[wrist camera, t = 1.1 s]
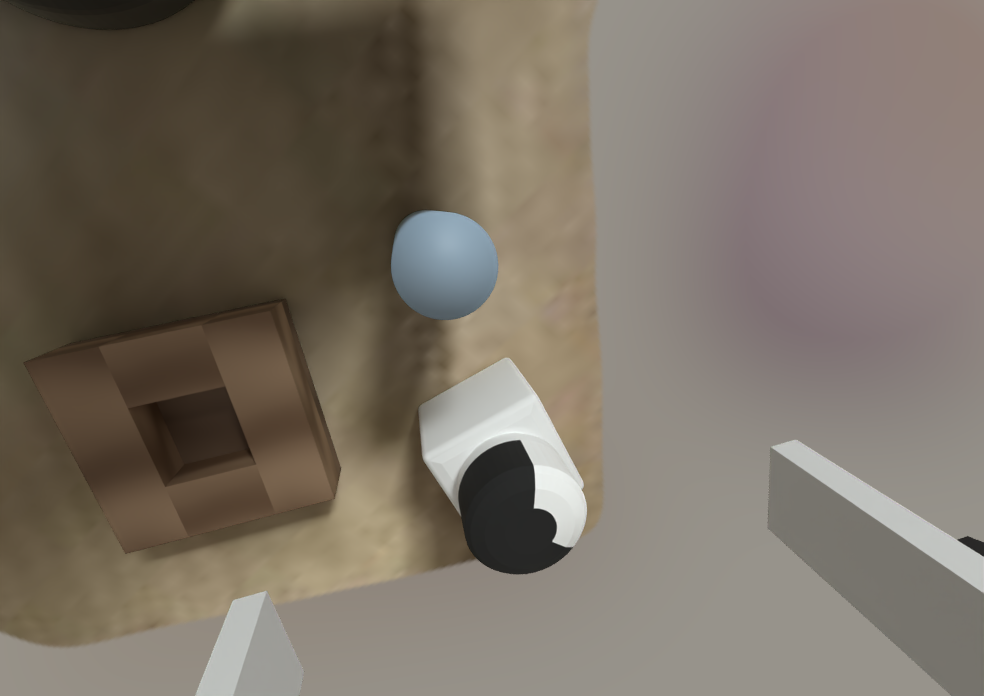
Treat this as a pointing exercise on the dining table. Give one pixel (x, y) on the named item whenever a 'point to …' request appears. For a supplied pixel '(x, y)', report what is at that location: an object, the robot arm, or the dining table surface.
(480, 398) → the medicine bottle
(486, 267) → the pin
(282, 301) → the socket block
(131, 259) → the dining table surface
